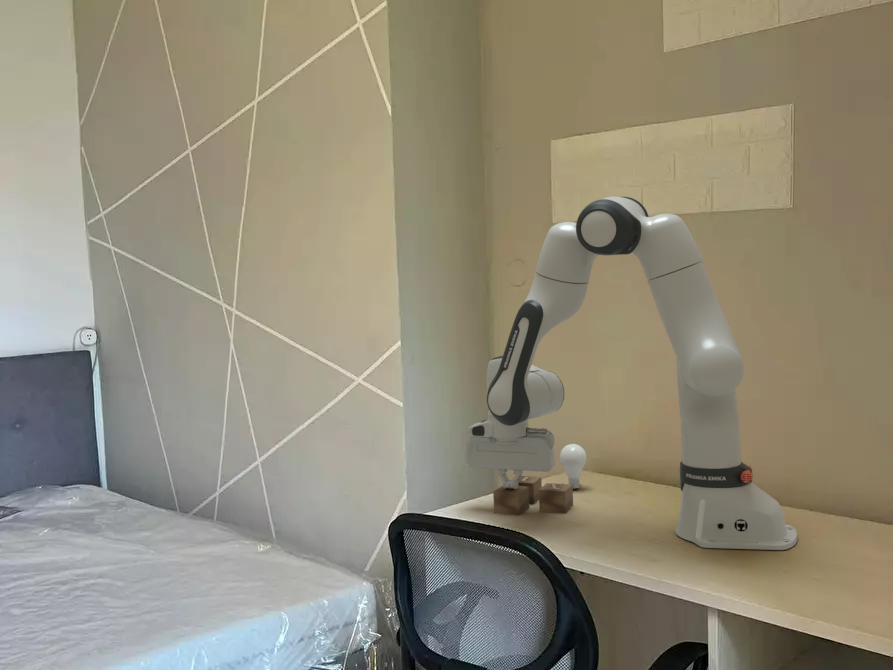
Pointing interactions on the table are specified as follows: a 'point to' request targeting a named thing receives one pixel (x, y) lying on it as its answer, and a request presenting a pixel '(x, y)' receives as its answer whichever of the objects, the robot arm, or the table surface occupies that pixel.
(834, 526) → the table surface
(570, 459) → the lightbulb
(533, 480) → the numbered block 1
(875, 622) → the table surface
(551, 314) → the robot arm
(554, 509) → the numbered block 7
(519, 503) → the plain block
